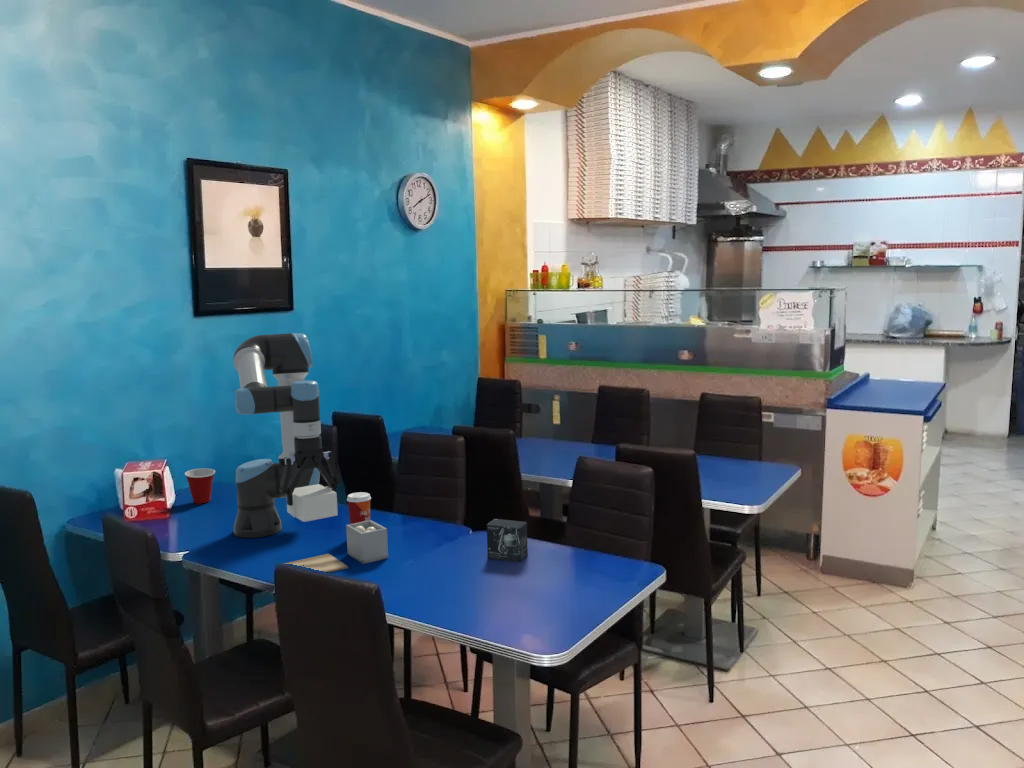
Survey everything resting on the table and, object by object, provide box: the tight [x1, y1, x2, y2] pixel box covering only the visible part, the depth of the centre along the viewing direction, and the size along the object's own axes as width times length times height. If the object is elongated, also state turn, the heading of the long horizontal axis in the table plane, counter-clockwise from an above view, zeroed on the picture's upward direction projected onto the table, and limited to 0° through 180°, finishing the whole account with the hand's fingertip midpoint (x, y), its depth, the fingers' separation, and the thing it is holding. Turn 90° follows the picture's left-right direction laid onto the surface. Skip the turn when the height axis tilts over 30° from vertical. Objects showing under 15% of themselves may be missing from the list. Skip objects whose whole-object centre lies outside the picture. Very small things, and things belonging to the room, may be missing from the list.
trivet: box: [283, 553, 349, 574], centre depth 239 cm, size 14×14×1 cm
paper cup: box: [346, 491, 372, 524], centre depth 264 cm, size 8×8×14 cm
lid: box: [285, 483, 339, 523], centre depth 236 cm, size 13×10×7 cm
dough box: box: [345, 519, 389, 565], centre depth 246 cm, size 11×8×9 cm
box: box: [486, 518, 529, 563], centre depth 242 cm, size 11×7×10 cm, turn 68°
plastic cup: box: [184, 468, 216, 505], centre depth 311 cm, size 11×11×12 cm
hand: (312, 512), depth 237 cm, fingers closed on lid, 10 cm apart
